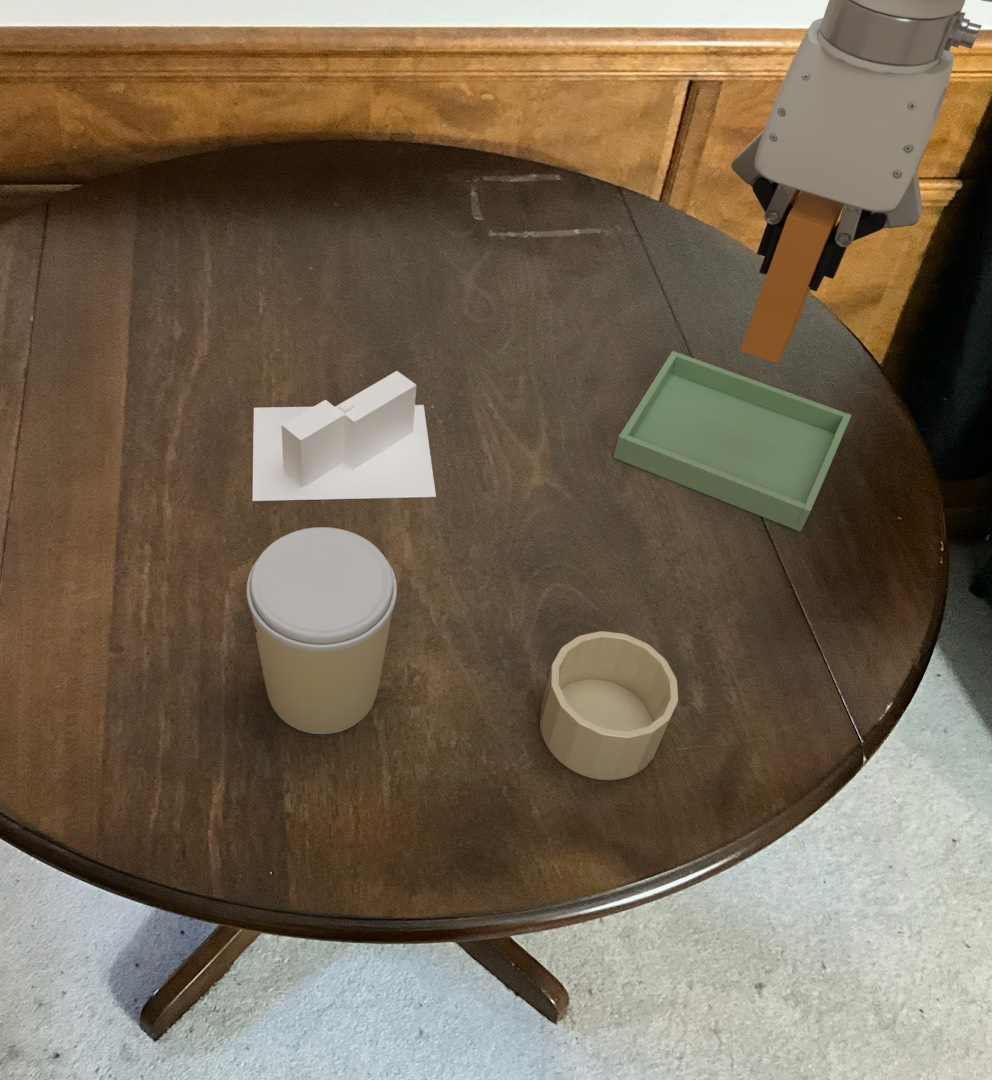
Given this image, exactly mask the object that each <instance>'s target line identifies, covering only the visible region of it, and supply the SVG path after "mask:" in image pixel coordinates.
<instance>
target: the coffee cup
mask: <svg viewBox="0 0 992 1080" xmlns="http://www.w3.org/2000/svg"><path fill="white" fill-rule="evenodd" d="M397 594H398V587H397V579H396V576H395V572H394V569H393V567H392V566H391V564H390V562H389V561H388V559H387V558H386V557H385V555H384V554H383V553H382V551H381V550H380V549H379V548H378V547H377V546H376V545H375V544H374V543H372V542H370V541H369V540H368V539H367V538H365V537H363V536H361V535H359V534H357V533H354V532H351V531H349V530H346V529H342V528H336V527H326V526H318V527H317V526H316V527H308V528H302V529H299V530H295V531H293V532H290V533H287V534H285V535H284V536H281V537H279V538H277V539H276V540H275V541H273V542H272V543H271V544H269V545H268V546H267V547H266V548H265V549H264V550H263V551H262V552H261V554H260V555H259V557H258V558H257V560H256V561H255V562H254V564H253V565H252V567H251V569H250V571H249V574H248V578H247V581H246V599H247V604H248V607H249V611H250V613H251V617H252V623H253V629H254V633H255V639H256V644H257V648H258V655H259V660H260V665H261V669H262V675H263V680H264V685H265V688H266V693H267V697H268V700H269V703H270V705H271V707H272V709H273V711H274V712H275V713H276V715H277V716H278V717H279V718H280V719H281V720H282V721H283V722H284V723H286V724H287V725H288V726H290V727H292V728H294V729H296V730H298V731H301V732H303V733H308V734H312V735H330V734H337V733H340V732H343V731H346V730H348V729H350V728H352V727H354V726H355V725H357V724H358V723H360V722H361V721H362V720H363V719H364V718H366V716H367V715H368V714H369V713H370V711H371V710H372V707H373V706H374V703H375V701H376V699H377V695H378V691H379V687H380V682H381V676H382V670H383V665H384V661H385V660H384V659H385V654H386V649H387V643H388V639H389V632H390V626H391V619H392V613H393V611H394V608H395V605H396V602H397Z"/></svg>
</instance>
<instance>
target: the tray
mask: <svg viewBox="0 0 992 1080" xmlns="http://www.w3.org/2000/svg"><path fill="white" fill-rule="evenodd" d="M851 417H852V414H850V413H847V412H844V411H842V410H839V409H836V408H833V407H831V406H828V405H825V404H822V403H819V402H818V401H817V402H816V401H814V400H811V399H808V398H805V397H803V396H800V395H797V394H794V393H792V392H788V391H786V390H784V389H780V388H778V387H775V386H773V385H769V384H767V383H763V382H761V381H758V380H755V379H752V378H749V377H747V376H744V375H742V374H740V373H739V374H738V373H735V372H734V371H730V370H727V369H725V368H722V367H719V366H716V365H713V364H711V363H708V362H705V361H702V360H699V359H697V358H694V357H692V356H689V355H685V354H683V353H680V352H677V351H675V350H671V352H670V354H669V355H668V357H667V359H666V361H665V362H664V364H663V365H662V367H661V368H660V370H659V372H658V373H657V375H656V376H655V378H654V379H653V381H652V383H651V384H650V386H649V387H648V389H647V391H646V392H645V394H644V395H643V397H642V398H641V400H640V402H639V404H638V405H637V406H636V408H635V409H634V411H633V413H632V414H631V416H630V418H629V420H627V423H626V424H625V426H624V427H623V429H622V430H621V432H620V433H619V435H618V438H617V441H616V445H615V448H614V453H613V457H612V458H613V459H615V460H618V461H621V462H623V463H625V464H628V465H631V466H633V467H636V468H637V469H640V470H643V471H646V472H648V473H650V474H652V475H653V474H654V475H656V476H658V477H661V478H663V479H666V480H669V481H671V482H673V483H676V484H679V485H681V486H684V487H686V488H689V489H691V490H693V491H695V492H699V493H701V494H704V495H706V496H708V497H711V498H713V499H716V500H718V501H721V502H724V503H726V504H729V505H732V506H734V507H736V508H738V509H741V510H744V511H746V512H748V513H752V514H754V515H756V516H759V517H762V518H764V519H767V520H769V521H772V522H774V523H777V524H779V525H782V526H785V527H787V528H790V529H792V530H794V531H797V532H799V533H801V532H802V531H803V528H804V526H805V524H806V522H807V521H808V517H809V516H810V514H811V511H812V510H813V507H814V505H815V502H816V500H817V497H818V495H819V493H820V490H821V489H822V486H823V483H824V481H825V479H826V477H827V475H828V472H829V469H830V467H831V465H832V462H833V460H834V459H835V458H834V457H835V456H836V453H837V450H838V448H839V446H840V443H841V441H842V438H843V436H844V434H845V432H846V429H847V427H848V425H849V422H850V420H851Z"/></svg>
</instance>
